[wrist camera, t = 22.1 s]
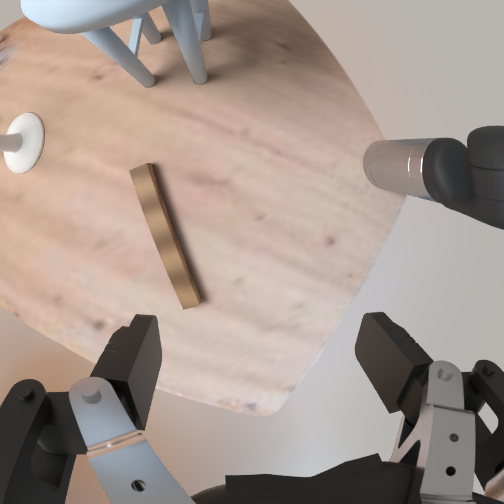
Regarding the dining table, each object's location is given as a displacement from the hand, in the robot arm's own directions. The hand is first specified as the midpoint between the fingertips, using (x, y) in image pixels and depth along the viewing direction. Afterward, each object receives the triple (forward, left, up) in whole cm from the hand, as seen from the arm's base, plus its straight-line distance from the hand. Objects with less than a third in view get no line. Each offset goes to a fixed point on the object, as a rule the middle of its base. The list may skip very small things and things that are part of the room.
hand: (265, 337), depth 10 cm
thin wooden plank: (+13, 0, -38) cm, 41 cm away
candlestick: (+32, -34, -38) cm, 60 cm away
